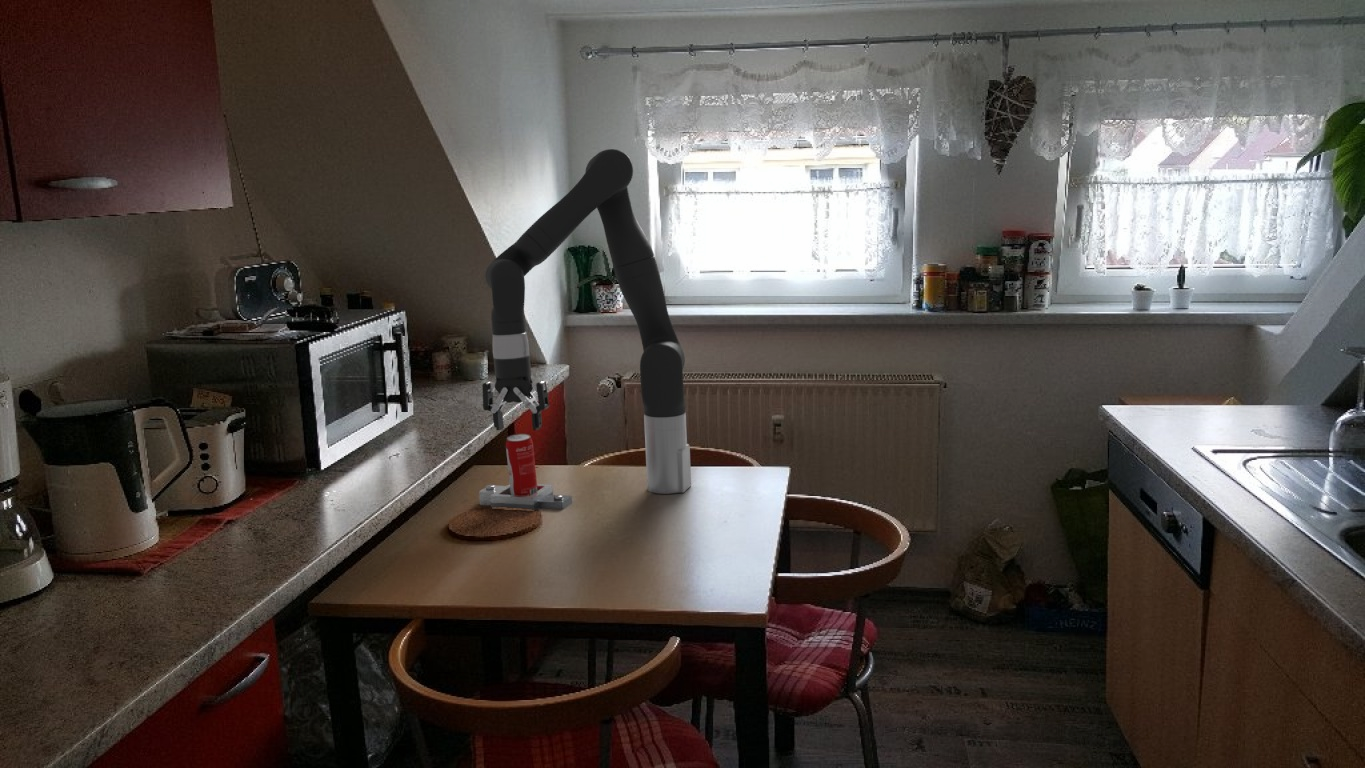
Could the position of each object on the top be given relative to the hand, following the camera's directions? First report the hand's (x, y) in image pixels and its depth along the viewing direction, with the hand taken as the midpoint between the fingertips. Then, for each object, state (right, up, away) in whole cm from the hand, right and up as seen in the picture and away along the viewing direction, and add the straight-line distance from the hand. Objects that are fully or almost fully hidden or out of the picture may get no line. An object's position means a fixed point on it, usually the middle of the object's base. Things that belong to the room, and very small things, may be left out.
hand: (518, 429), depth 208 cm
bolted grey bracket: (0, -16, +3) cm, 16 cm away
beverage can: (+1, -16, +3) cm, 17 cm away
